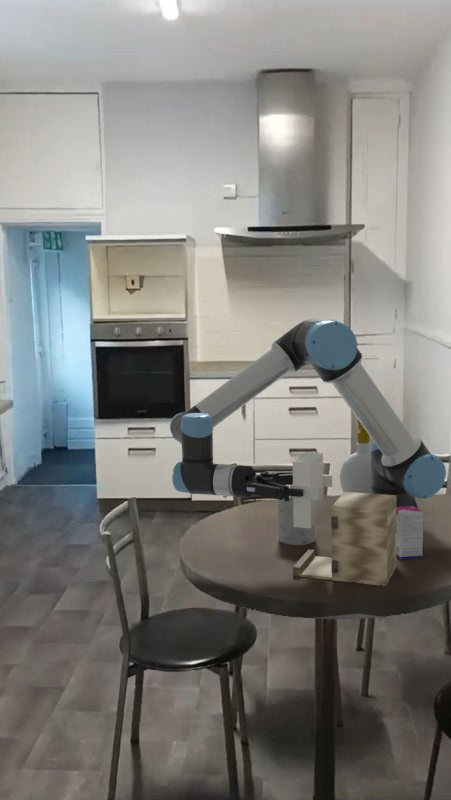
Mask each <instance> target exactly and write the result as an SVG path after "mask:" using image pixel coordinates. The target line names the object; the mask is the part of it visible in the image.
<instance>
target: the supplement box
mask: <svg viewBox="0 0 451 800" xmlns="http://www.w3.org/2000/svg"><path fill="white" fill-rule="evenodd" d="M423 541H424V511H423V510H421V509H420V508H419V509H418V508H416V507H415V506H406V507H396V558H398V559H399V560H409V559H412V560H413V559H422V558H423V546H424V545H423V543H424V542H423Z"/></svg>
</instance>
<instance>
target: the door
mask: <svg viewBox="0 0 451 800" xmlns="http://www.w3.org/2000/svg"><path fill="white" fill-rule="evenodd" d="M292 471H293V485H298V486H313V487H319V499H318V500H317V499H303V498H293V523H294V527H300V528H312V527H313V526H314V525H315V526H316V524H317V522H319V520H321V518H323V516H324V486H323V475H324V453H323V452H310V451H308V452H305V453H304V454H301V455H300V456H299V457H297V458H296V459H295V460H293V461H292Z"/></svg>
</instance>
